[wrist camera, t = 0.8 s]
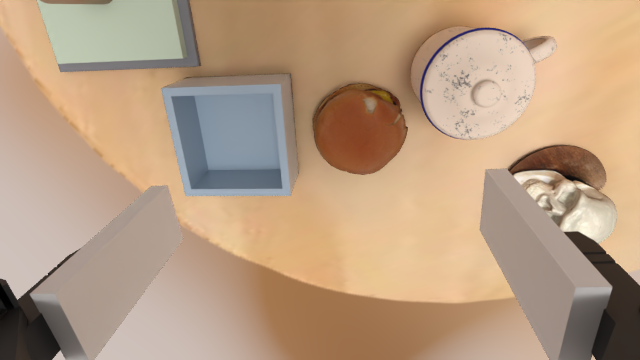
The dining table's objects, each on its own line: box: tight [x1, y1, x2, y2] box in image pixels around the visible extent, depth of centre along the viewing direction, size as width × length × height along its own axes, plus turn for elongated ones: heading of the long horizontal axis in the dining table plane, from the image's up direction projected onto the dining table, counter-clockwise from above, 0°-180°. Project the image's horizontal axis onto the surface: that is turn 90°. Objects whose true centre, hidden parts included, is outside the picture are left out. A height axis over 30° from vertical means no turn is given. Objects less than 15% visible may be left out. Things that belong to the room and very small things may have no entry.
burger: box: [313, 83, 408, 175], centre depth 40 cm, size 10×9×5 cm
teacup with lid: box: [411, 26, 557, 140], centre depth 33 cm, size 12×9×12 cm
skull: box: [509, 146, 617, 244], centre depth 42 cm, size 12×10×10 cm
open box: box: [161, 74, 299, 196], centre depth 40 cm, size 12×12×6 cm
